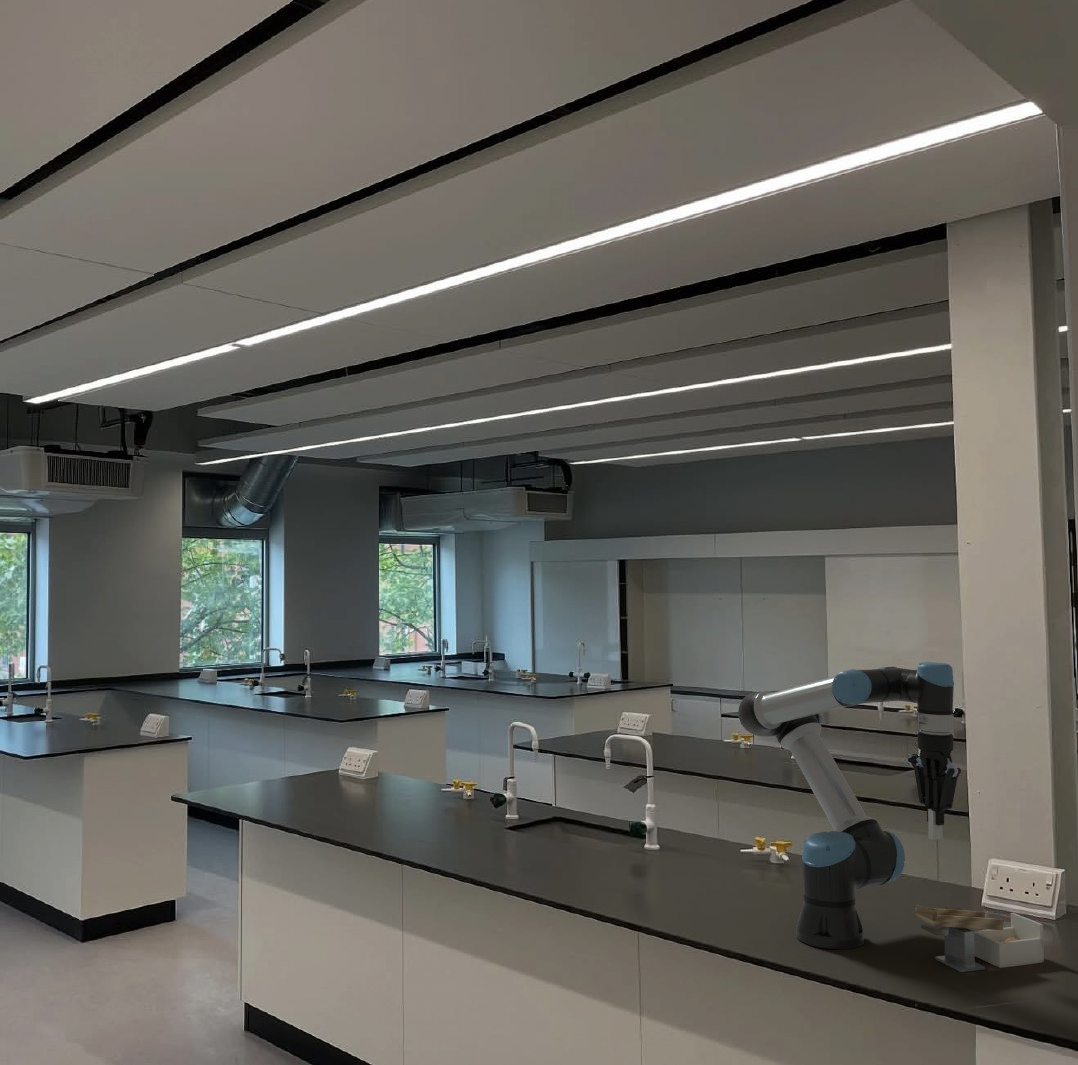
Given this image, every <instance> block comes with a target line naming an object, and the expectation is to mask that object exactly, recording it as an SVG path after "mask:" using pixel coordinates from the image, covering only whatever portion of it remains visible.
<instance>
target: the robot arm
mask: <svg viewBox="0 0 1078 1065" xmlns="http://www.w3.org/2000/svg"><path fill="white" fill-rule="evenodd" d="M953 672H954V671H953V667H952V666H951V665H950V664H949V663H946V662H933V661H932V662H931V661H930V662H929V661H925V662H924V661H923V662H919V663H918V665H917V668H916V669H909V668H902V667H901V668H900V667H897V666H882V667H881V666H880V667H879V668H876V669H873V668H872V669H856V668H855V669H854V668H853V669H848V670H842V671H840V672H838V673H837V674H836V675H834V676H829V677H825V678H822V679H819V680H816V681H815V680H814V681H811V682H807V683H804V684H801V685H796V686H794V687H788V688H786V689H781V690H763V691H762V690H760V691H754V692H751V693H749V694H747V695H746V696H744V697H743V699H742V700H741V702H740V703H739V705H738V711H737V714H738V720H739V722H740V724H741V726H742V728H743V729H744V730H745V731H747V732H748V733H750V734H751V735H754V736H758V737H775V738H776V740H777V741H778V744H779V745H780V746H781V748H782V749H784V750H787V751H790V752H791V755H792V756H793V759H794V760H795V762H796V764H797V765H798V768H800V771H801V773H802V775H803V777H804V778H805V780H806V782H807V783H808V785H809V787H810V788H811V791H812V792H813V794H814V796H815V798H816V800H817V802H818V803H819V805H820V807H821V809H822V810H823V812H824V814H825V816H826V818H827V820H828V821H829V823H830V825H831V827H832V829H833V831H831V830H830V831H821V832H816V833H813V834H811V835H808V836H807V837H806V838H805V839H804V841H803V844H802V854H801V859H802V882H803V883H802V886H803V888H802V890H803V891H802V892H803V896H802V897H803V903H802V907H801V910H800V913H799V917H798V920H797V923H796V925H795V929H796V930H795V936H796V938H797V940H799V941H800V942H802V943H804V944H807V945H808V946H811V947H812V946H813V947H816V948H821V949H829V950H849V949H856V948H859V947H861V946H862V945H863V944H864V943H865V932H864V927H863V925H862V922H861V919H860V916H859V913H858V909H857V906H856V890H857V889H864V888H868V887H874V886H883V885H886V884H888V883H892V882H895V881H896V880H898V878H899V877H900V876H901V875H902V873H903V871H904V868H905V862H906V855H905V849H904V847H903V846H904V845H903V844H902V842H901V840H900V839H899V837H898V836H897V835H896V834H895V833H893V832H890V831H889V830H883V829H882V828H881V825H880V824H879V822H878V820H877V819H876V818H875V817H871V816H868V815H867V814H866V813H865V811H864V808H863V807H862V805H861V804H860V802H859V800H858V798H857V797H856V795H855V793H854V791H853V790H852V789H851V787H850V785H849V783H848V782H847V779H846V777H845V776H844V774H843V773H842V771H841V770H840V768H839V766H838V764H837V762H836V761H835V759H834V756H832V753H830V750H829V748H828V747H827V745H826V743H825V742H824V740H823V738H822V737H821V732H822V727H823V726H822V725H821V723H822V720H823V719H822V715H821V714H822V713H827V712H831V711H835V710H840V709H844V708H847V707H853V706H859V705H862V704H868V703H869V704H872V703H887V702H907V703H914V704H917V729H918V730H919V731H918V733H917V748H918V749H919V750H920V751H919V754H918V755H919V756H918V757H917V758H916V759H915V758H913V759H911V760H910V763H911V765H912V768H913V771H914V775H915V777H914V778H915V783H916V789H917V795H918V800H919V803H920V804H921V805H922V804H923V806H925V808H926V821H927V822H926V823H927V824H928V825H927V828H928V829H927V830H928V833H927V836H928V837H927V838H928V840H931V841H938V840H939V841H940V840H944V836H943V835H944V834H943V833H944V832H943V828H944V827H943V826H944V825H945V811H947V810H952V808H953V804H954V798H955V793H956V788H957V783H958V778H959V776H960V774H961V773H962V771H961V768H960V767H956V766H955V765H954V764H953V758H952V755H951V753H952V752H953V750H954V735H953V733H954V729H955V728H954V727H955V726H954V687H955V682H954V673H953Z"/></svg>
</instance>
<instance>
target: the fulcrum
mask: <svg viewBox="0 0 1078 1065" xmlns="http://www.w3.org/2000/svg"><path fill="white" fill-rule="evenodd" d="M974 931H975V930H972V929H971V928H959V927H949V932H948V936H943V937H944V955H938V956H935V961H938V962H940V963H942V964H944V965H945V966H948V967H950V968H952V969H954V970H955V971H958V972H960V973H965V972H975V971H981V970H982V971H983V970H985V965H982V964H980V963H978V962H976V961H975V959H976V958H975V957H976V956H975V953H974Z"/></svg>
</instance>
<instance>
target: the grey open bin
mask: <svg viewBox="0 0 1078 1065" xmlns="http://www.w3.org/2000/svg"><path fill="white" fill-rule="evenodd" d="M973 931H974V953H975V957H976V958H978V959H980V960H983V961H984V962H987V963H989V964H990V965H992V966H995V967H997V968H1000V969H1003V968H1010V967H1017V966H1018V967H1019V966H1026V965H1033V964H1034V965H1035V964H1041V963H1045V955H1044V954H1045V953H1044V951H1045V950H1044V924H1043V923H1040V922H1039V921H1035V920H1033V919H1031V918H1028V917H1026V916H1025V917H1024V916H1022V915H1019V914H1017V913H1015V912H1010V926H1007V927H1003V930H990V929H978V930H973ZM1008 938H1016V939H1017V940H1015V941H1006V942H1005V940H1006V939H1008Z"/></svg>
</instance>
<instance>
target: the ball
mask: <svg viewBox="0 0 1078 1065" xmlns="http://www.w3.org/2000/svg"><path fill="white" fill-rule="evenodd" d="M1015 940H1017V939H1016V938H1008V939H1006V940H1005V942H1006V941H1015Z"/></svg>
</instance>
